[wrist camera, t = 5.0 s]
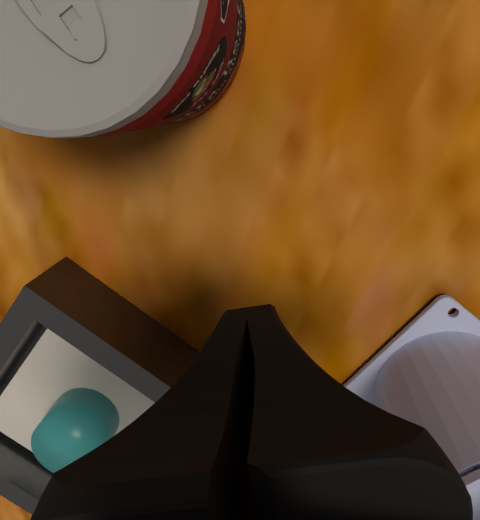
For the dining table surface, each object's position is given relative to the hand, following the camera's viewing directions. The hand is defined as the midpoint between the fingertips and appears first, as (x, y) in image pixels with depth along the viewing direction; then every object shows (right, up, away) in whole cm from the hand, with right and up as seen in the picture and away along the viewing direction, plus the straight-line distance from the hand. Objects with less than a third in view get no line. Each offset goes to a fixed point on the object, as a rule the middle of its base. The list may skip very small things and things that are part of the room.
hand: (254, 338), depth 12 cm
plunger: (-9, -6, +13) cm, 17 cm away
